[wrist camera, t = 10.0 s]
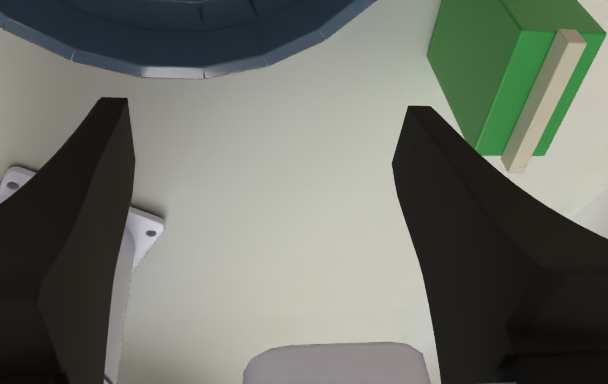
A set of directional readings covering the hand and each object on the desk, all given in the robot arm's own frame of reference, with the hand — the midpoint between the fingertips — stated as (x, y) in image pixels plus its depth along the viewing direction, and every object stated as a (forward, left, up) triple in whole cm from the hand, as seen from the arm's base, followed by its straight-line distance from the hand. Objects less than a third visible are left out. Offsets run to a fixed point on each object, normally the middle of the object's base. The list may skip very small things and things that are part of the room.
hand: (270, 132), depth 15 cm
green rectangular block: (+4, -8, -10) cm, 13 cm away
